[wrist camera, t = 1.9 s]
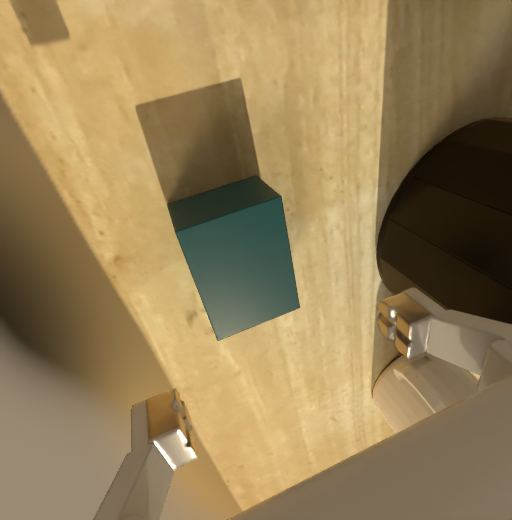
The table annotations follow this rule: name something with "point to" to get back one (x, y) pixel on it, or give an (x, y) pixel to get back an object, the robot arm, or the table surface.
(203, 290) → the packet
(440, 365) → the mug
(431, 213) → the trash tin
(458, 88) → the table surface
